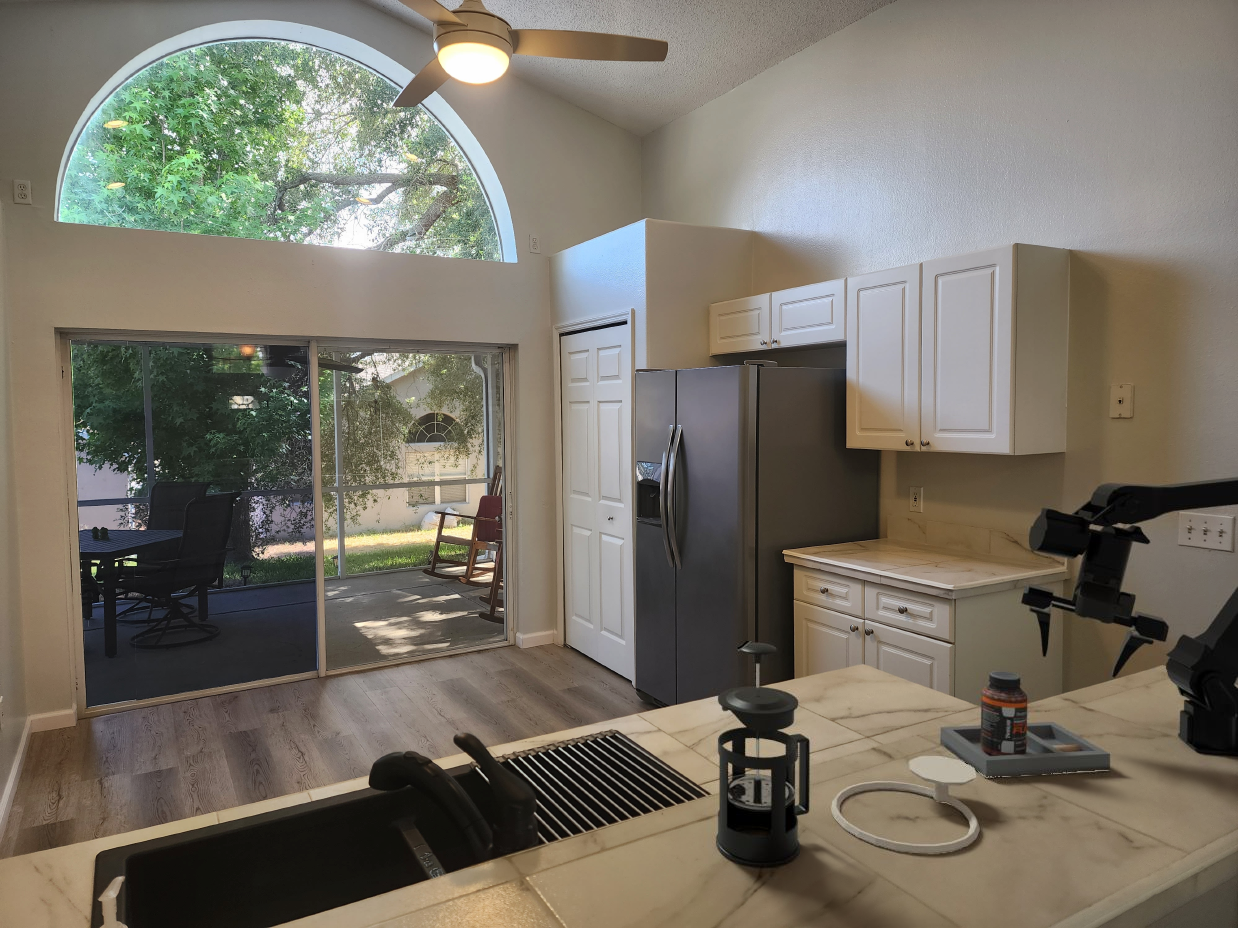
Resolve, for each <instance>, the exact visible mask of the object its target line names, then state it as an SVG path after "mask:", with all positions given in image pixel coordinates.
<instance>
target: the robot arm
mask: <svg viewBox="0 0 1238 928" xmlns="http://www.w3.org/2000/svg"><path fill="white" fill-rule="evenodd" d="M1236 505H1238V476H1233V477H1224V478H1215V479H1207V480H1205V479H1204V480H1199V481H1187V482H1179V483H1171V484H1163V485H1154V484H1140V483H1139V484H1137V483H1123V482H1122V483H1121V482H1120V483H1119V482H1118V483H1117V482H1106V483H1103V484H1100V485H1098V486H1097V487H1096V488H1095V490H1094V491H1093V493H1092V495H1091V498H1090V499H1089V500H1088V501H1086V502H1085V503H1084V504H1083V505H1082V506H1080V507H1079V508H1077V510H1075V511H1074V512H1072V513H1071V514H1070V513H1065V512H1060V511H1058V510H1057V509H1053V508H1049V507H1042V508H1041V512H1040V514H1039V515H1038V516H1037V517H1036V519H1035V521H1034V523H1033V525H1031V526H1030V530H1029V535H1028V546H1029V548H1030V550H1031V551H1033V552H1037V553H1041V554H1046V555H1050V556H1055V557H1060V558H1064V559H1065V558H1066V559H1069V560H1075V559H1076V558H1077V557H1079V556H1082V557H1081V562H1080V567H1079V570H1078V574H1077V578H1076V582H1075V586H1074V589H1073V594H1072V599H1071V598H1066V597H1064V596H1063V597H1062V596H1058V595H1054V592H1055V591H1054V589H1051V588H1048V587H1043V586H1039V585H1035V584H1032V583H1029V584H1027V585H1026V586H1025V587H1024V590H1023V593H1022V597H1021V601H1020V604H1022V605H1025V606H1028V607H1029V609H1028V611H1029V612H1031V613H1032V614H1033V613H1034V614H1035V615H1036V619H1037V622H1038V626H1039V631H1040V640H1041V652H1042V657H1043V658H1046V657H1047V654H1048V649H1049V638H1050V628H1051V618H1052V617H1051V616H1052V615H1051V614H1052V608H1055V609H1059V610H1063V611H1066V612H1070V613H1074V614H1075V615H1076V616H1077V617H1081V618H1083V619H1086V618H1088V619H1092V620H1096V621H1098V622H1100V623H1103V624H1106V625H1107V624H1108V625H1109V624H1110V625H1111V624H1116V625H1119V626H1123V627H1127V628H1130V629H1127V631H1126V633H1125V636H1124V639H1123V641H1122V643H1121V646H1120V648H1119V651H1118V654H1117V657H1116V659H1115V661H1114V664H1113V667H1112V672H1111V677H1112V678H1113V679H1114V678H1116V677H1117V676H1118V675H1119V673H1120V671H1121V670H1122V669H1123V667H1124V666H1125V664H1126V663H1127V662H1128V660H1129V659H1130V658H1131V657H1132V656H1133V654H1135V652H1137V650H1138V649H1139V648H1141V647H1142V646H1143V645H1146V644H1147V645H1154V643H1155V641H1159V642H1163V643H1165V642H1167V637H1168V634H1169V629H1170V626H1169V625H1168V623H1167V622H1166V621H1165V620H1164V619H1163V618H1162V617H1161V616H1156V615H1152V614H1148V613H1144V612H1140V611H1138V610H1135V612H1134V613H1133V610H1134V606H1135V603H1136V596H1137V595H1136V594H1134V593H1129V592H1126V591H1122V587H1123V583H1124V578H1125V575H1126V570H1127V566H1128V563H1129V559H1130V554H1131V550H1132V547H1133V543H1138V544H1143V545H1149V544H1151V540H1150V539H1149V537H1148V536H1147V534H1145V533H1144V532H1143V530H1142V526H1138V525H1137V524H1139V523H1144V522H1148V521H1150V520H1154V519H1156V518H1159V517H1161V516H1163V515H1166V514H1169V513H1173V512H1177V511H1186V510H1187V511H1188V510H1196V509H1197V510H1198V509H1199V510H1200V509H1207V508H1217V507H1218V508H1219V507H1225V506H1236ZM1118 524H1120V525H1121V524H1122V525H1129V527H1127V528H1126V527H1125V528H1124V527H1120V526H1116V525H1118ZM1135 524H1136V525H1135ZM1091 525H1093V526H1098V527H1101V529H1095V528H1091V527H1090V526H1091ZM1154 640H1155V641H1154ZM1166 657H1168V660H1167V662H1166V664H1165V670H1166V673H1167V677H1168V678H1169V680H1170V681H1171V682H1172V683H1173V684H1174V685H1175V686H1176V688H1177V691H1178V693H1179V695H1180V696H1181V697H1185V698H1186V699H1184V700H1183V709H1181V710H1180V711H1179V732H1177V737H1178V738H1179V739H1181V740H1182V741H1183V742H1184V743H1185V744H1187V745H1188V746H1189V747H1190V748H1191V749H1193V750H1194V751H1195V752H1198V753H1203V754H1204V753H1206V754H1217V755H1231V756H1238V687H1237V686H1236V683H1237V681H1238V586H1236V588H1235V589H1234V591H1233V593H1231V596H1229V598H1228V599H1227V601H1226V602H1225V604H1224V605H1223V606H1222V608H1221V609H1220V611H1219V612H1218V614H1217V615H1216V616H1215V618H1214V619H1213V620H1212V622H1211V623H1210V625H1209V626H1208V628H1207V629H1206V630H1205V631H1204V632H1202V633H1200V634H1199V635H1197V636H1195V637H1191V636H1190V635H1187V634H1185V633H1184V634H1182V635H1181V636H1180V637H1179V638H1178V640H1177V643H1176V644H1175V646H1174V647H1173V649H1172V650H1171V651H1169V652H1168V653H1166Z"/></svg>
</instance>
